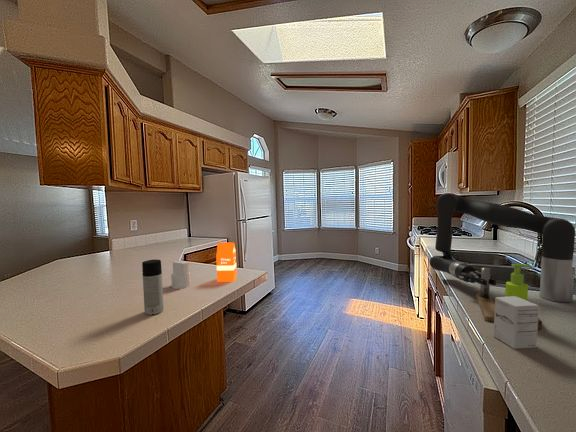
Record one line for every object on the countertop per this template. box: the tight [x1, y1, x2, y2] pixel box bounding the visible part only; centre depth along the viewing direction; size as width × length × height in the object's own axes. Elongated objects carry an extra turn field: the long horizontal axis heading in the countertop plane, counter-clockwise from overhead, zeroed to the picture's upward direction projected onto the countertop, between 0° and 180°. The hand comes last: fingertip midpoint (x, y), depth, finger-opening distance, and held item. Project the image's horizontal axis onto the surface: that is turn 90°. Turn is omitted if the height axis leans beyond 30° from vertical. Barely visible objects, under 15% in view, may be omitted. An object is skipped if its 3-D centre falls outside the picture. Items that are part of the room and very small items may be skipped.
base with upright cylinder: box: [475, 267, 543, 330], centre depth 103 cm, size 15×25×14 cm, turn 152°
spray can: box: [141, 259, 164, 316], centre depth 107 cm, size 7×7×20 cm
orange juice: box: [215, 242, 238, 283], centre depth 147 cm, size 8×9×20 cm
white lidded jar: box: [170, 260, 192, 290], centre depth 138 cm, size 9×9×12 cm
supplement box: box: [493, 296, 540, 350], centre depth 82 cm, size 7×7×13 cm
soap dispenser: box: [504, 263, 533, 301], centre depth 95 cm, size 6×7×20 cm
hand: (490, 282), depth 110 cm, fingers closed on base with upright cylinder, 3 cm apart
